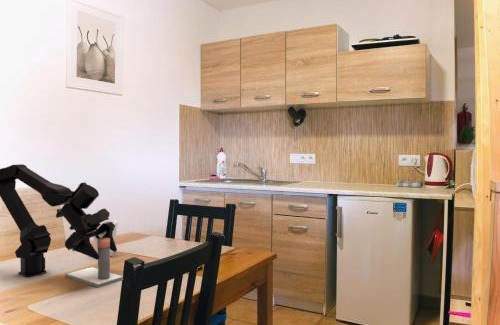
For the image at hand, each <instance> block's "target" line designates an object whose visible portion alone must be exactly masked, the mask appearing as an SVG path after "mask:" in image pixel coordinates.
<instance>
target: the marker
mask: <svg viewBox="0 0 500 325" xmlns="http://www.w3.org/2000/svg"><path fill="white" fill-rule="evenodd" d="M97 248H98V255H99V257H100V258H99V259H98V260H97V268H98V279H100V280H105V279H109V278H110V272H111V270H110V269H111V256H110V238H99V239H97Z"/></svg>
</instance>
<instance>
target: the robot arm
mask: <svg viewBox="0 0 500 325" xmlns="http://www.w3.org/2000/svg"><path fill="white" fill-rule="evenodd" d="M16 180H18V181H20V182H22V183H23V184H24V185H27V186H28V187H29V188H31V189H32V190H34V191H35V192H37V193H39V194H40V196H41V198H42V200H43V201H44V202H45V203H46V204H48V205H49V206H50V207H58V206H62V207H61V208H58V209H56V213H55V218H56V219H58V218H59V219H60V218H64V219H65V220H66V221H67V222H68V224H69V225H70V226H69V230H70V231H73V230H74V231H73V232H72V233H71V234H70V236H68V237H67V239H65V241H64V247H65V248H66V249H67V251H72V252H76V253H80V254H82V255H86V256H88V257H91V258H92V259H95V260H96V261H98V259H99V258H100V257H99V255H98V253H97V252H96V250H95V247H94V246H93V244H92V243H91V238H94V236H95V237H96V238H97V239H99V238H110V250H112V251H113V252H114V253H116V252H117V251H118V248H117V246H116V241H115V242H114V240H113V236H112V233H113V231H114V228H115V225H114V224H113V223H112V222H106V223H103V224H102V225H101V224H100V222H103V221H108V220H109V219H110V212H109V211H108V210H107V209H106V208H104V207H103V208H101V209H100V210H98V211H97V212H94V213H93V214H92V213H86V212H85V210H86V209H88V208H90V206H91V205H92V204H93V203H94V201H96V199H97V198H98V197H99V195H100V193H99V191H98V189H97V188H95V187H94V186H92V185H90V184H87V183H86V181H85V182H80V184H78V186H77V187H76V189H75V190H71V188H70V187H68V186H64V185H62V184H58V183H53V182H51V181H49V180H47V179H46V178H44V177H43V176H41V175H40V174H38V172H37V173H36V171H33V170H32V169H30V168H29V167H28V166H27V165H25V164H22V163H21V164H19V163H18V164H11V165H9V166H6V167H1V168H0V198H1V200H2V203H3V204H4V206H5V207H6V208H7V210H8V212H9V214H10V216H11V218H12V219H13V221H14V222H15V225H16V227H17V228H18V229H19V242H20V245H19V247H18V248H17V249H16V250H15V252H14V253H15V257H16V258H17V259H20V271H18V273H17V274H19V275H20V276H21V275H22V276H23V277H26V278H29V277H33V276H37V275H38V276H39V275H41V274H45V273H47V270H46V257H44V256H45V255H44V254H47V253H48V250H49V247H50V245H51V242H52V238H51V235H52V234H51V233H50V232H49V231H48V229H47V227H46V225H45V224H42V225H38V224H37V223H36V222H35V221H34V218H33V217H32V215H31V214H30V212H29V211H28V210H29V209H28V208H27V207H26V205H25V204H24V201H23V200H22V198H21V197H20V195H19V193H18V192H17V190H16V184H17V182H16ZM100 225H101V226H100ZM99 226H100V227H99ZM97 227H99V228H98V229H97ZM93 233H94V234H93Z"/></svg>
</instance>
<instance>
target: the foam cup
mask: <svg viewBox="0 0 500 325" xmlns="http://www.w3.org/2000/svg"><path fill="white" fill-rule="evenodd" d="M106 222H112V223H113V224H114V225H115V228H114V231H113V233H112V236H113V240H114V242H115V243H116V237H117V229H118V221H117V220H109V219H108V220H105V221H103V222H100V224H101V225H102V224H103V223H106ZM101 225H100V226H101ZM100 226H99V227H100ZM99 227H97V229H98V228H99ZM93 234H94V233H93ZM93 243H94V249H95V250H96V252H97V253H98V248H97V238H96V237H95V236H94V237H93ZM114 253H115V252H113V251H112V250H110V257H113V256H114Z"/></svg>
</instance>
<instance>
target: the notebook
mask: <svg viewBox="0 0 500 325" xmlns="http://www.w3.org/2000/svg"><path fill="white" fill-rule="evenodd" d="M122 276H123V275H122V274H121V275H120V274H118V273H115V272H111V271H110V278H109V279H105V280H100V279H98V267H94V266H91V267H87V268H84V269H78V270H75V271H72V272H67V273H65V274H64V277H66V278H68V279H70V280H71V279H72V280H74V281H77V282H80V283H83V284H84V285H88V286H92V287H95V288H98V289H99V288H101V287H104V286H107V285H111V284H113V283H117V282H120V281H123V280H122Z"/></svg>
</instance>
